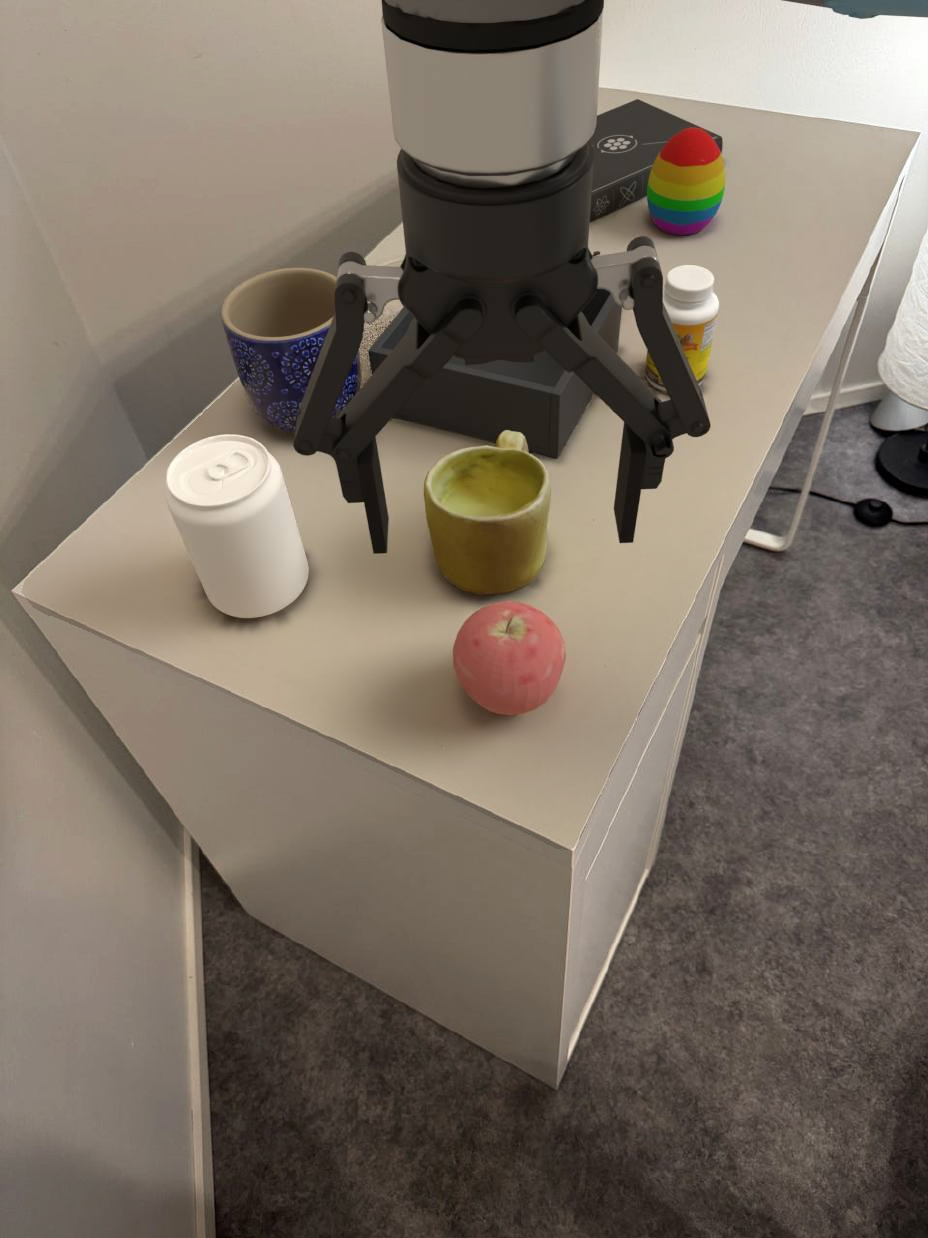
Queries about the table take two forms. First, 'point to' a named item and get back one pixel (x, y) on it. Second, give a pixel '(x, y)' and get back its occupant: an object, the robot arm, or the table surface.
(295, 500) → the table surface
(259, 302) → the planter
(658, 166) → the decorative egg
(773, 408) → the table surface
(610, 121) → the book
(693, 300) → the supplement bottle
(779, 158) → the table surface
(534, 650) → the apple
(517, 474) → the mug
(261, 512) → the beverage can
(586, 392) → the dark grey open box
